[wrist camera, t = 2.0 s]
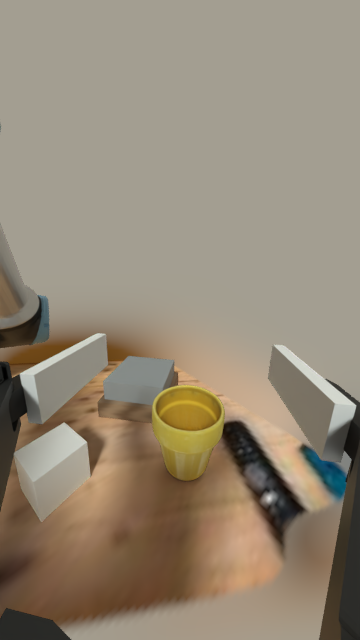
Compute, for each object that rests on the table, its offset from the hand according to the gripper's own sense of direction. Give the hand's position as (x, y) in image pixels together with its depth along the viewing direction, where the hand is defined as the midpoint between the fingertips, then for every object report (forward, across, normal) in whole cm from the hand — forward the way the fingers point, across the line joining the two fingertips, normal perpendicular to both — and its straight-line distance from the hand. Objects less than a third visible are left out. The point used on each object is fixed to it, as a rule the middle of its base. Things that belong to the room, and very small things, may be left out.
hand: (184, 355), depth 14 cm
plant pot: (+10, 0, -22) cm, 24 cm away
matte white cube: (+4, -17, -22) cm, 28 cm away
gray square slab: (+23, -11, -18) cm, 31 cm away
